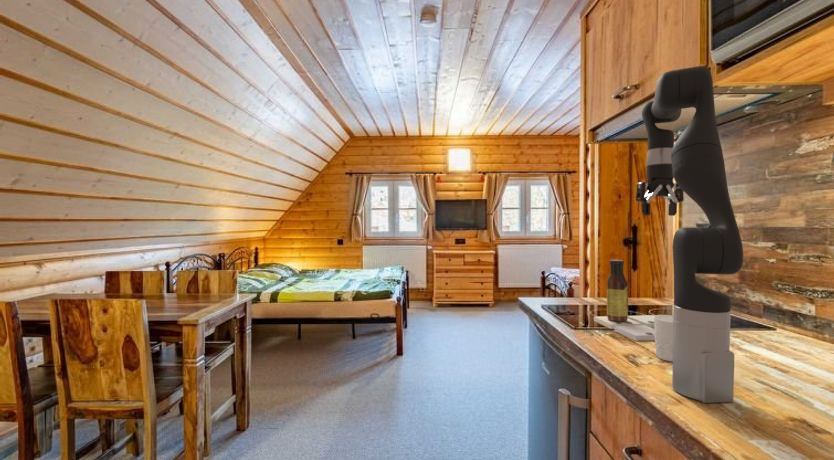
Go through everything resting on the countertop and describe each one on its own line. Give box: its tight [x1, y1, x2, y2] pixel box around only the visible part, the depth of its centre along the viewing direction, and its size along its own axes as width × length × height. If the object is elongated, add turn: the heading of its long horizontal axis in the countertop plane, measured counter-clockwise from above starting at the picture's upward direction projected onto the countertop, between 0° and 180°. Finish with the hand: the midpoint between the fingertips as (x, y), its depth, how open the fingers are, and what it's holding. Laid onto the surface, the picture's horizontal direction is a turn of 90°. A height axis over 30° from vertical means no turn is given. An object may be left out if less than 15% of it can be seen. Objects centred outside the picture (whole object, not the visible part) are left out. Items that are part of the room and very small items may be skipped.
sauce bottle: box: [606, 259, 629, 322], centre depth 129 cm, size 7×6×20 cm
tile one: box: [614, 325, 655, 342], centre depth 118 cm, size 10×10×2 cm
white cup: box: [653, 314, 674, 363], centre depth 98 cm, size 8×8×10 cm
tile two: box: [593, 315, 641, 330], centre depth 130 cm, size 10×10×2 cm
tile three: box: [627, 314, 656, 329], centre depth 131 cm, size 10×10×2 cm
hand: (659, 215), depth 124 cm, fingers open, 8 cm apart
